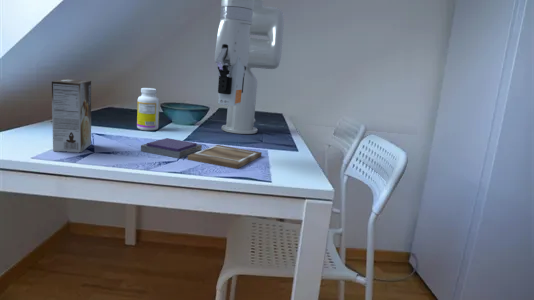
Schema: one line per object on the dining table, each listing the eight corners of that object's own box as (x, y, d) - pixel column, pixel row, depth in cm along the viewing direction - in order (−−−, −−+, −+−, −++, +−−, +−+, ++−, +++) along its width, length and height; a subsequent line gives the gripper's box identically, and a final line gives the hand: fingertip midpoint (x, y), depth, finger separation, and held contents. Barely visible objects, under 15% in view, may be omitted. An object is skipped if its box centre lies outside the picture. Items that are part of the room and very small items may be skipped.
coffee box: (64, 143, 102) (64, 78, 99) (91, 144, 103) (92, 80, 100) (51, 151, 93) (50, 80, 90) (81, 153, 95) (81, 83, 91)
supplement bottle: (145, 126, 135) (146, 87, 132) (162, 129, 133) (164, 89, 130) (132, 128, 129) (133, 87, 126) (150, 131, 127) (151, 90, 124)
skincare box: (234, 106, 98) (238, 55, 95) (217, 104, 98) (221, 53, 96) (241, 104, 103) (245, 55, 101) (225, 102, 104) (228, 54, 102)
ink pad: (165, 144, 112) (165, 137, 111) (201, 150, 108) (201, 143, 108) (140, 151, 102) (140, 143, 101) (179, 158, 98) (179, 150, 98)
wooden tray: (217, 148, 113) (217, 144, 113) (261, 156, 109) (261, 151, 109) (187, 159, 98) (187, 154, 98) (237, 168, 94) (237, 163, 94)
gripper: (236, 20, 106) (231, 90, 109) (204, 10, 90) (199, 92, 93) (264, 22, 103) (257, 93, 107) (236, 12, 87) (229, 96, 91)
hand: (230, 92), depth 100 cm, fingers closed on skincare box, 6 cm apart
